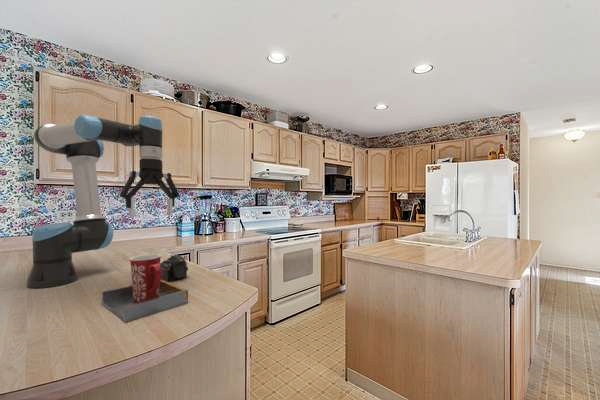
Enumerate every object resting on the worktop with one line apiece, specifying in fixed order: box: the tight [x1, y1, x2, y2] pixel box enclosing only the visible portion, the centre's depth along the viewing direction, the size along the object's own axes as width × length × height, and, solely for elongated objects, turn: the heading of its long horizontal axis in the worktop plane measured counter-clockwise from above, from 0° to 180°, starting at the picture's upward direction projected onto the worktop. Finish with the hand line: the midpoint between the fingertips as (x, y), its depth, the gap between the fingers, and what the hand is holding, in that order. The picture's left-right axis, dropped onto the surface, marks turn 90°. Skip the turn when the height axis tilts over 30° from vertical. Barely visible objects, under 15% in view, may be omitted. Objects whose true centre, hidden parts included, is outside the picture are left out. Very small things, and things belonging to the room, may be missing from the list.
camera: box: [160, 253, 189, 282], centre depth 115 cm, size 13×10×10 cm
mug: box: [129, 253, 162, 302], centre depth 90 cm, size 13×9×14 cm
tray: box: [101, 279, 189, 323], centre depth 89 cm, size 20×18×4 cm
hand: (151, 216), depth 104 cm, fingers open, 13 cm apart
